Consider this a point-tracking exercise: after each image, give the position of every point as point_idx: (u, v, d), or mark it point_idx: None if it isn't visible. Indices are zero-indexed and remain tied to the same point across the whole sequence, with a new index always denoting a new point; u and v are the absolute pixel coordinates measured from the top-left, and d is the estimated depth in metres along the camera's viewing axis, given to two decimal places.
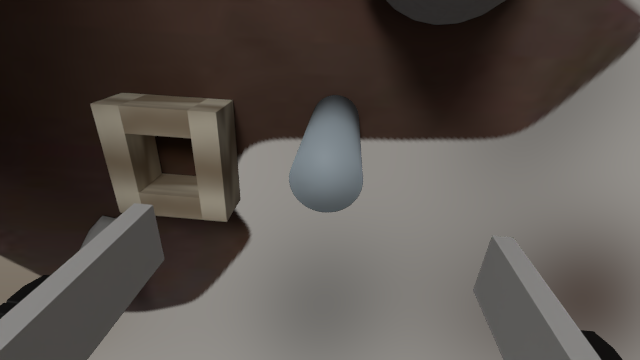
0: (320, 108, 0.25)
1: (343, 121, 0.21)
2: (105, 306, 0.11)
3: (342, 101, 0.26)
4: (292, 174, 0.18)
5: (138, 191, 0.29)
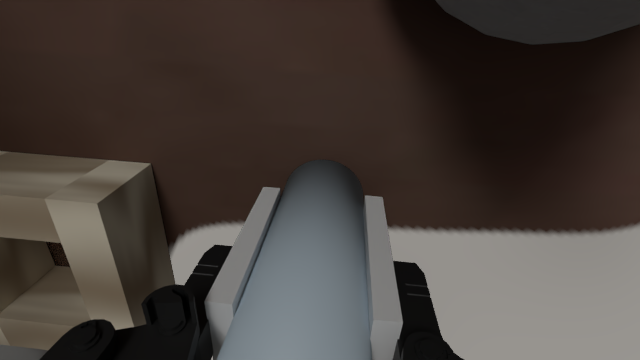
0: (291, 198, 0.13)
1: (331, 258, 0.10)
2: None
3: (334, 178, 0.14)
4: None
5: None
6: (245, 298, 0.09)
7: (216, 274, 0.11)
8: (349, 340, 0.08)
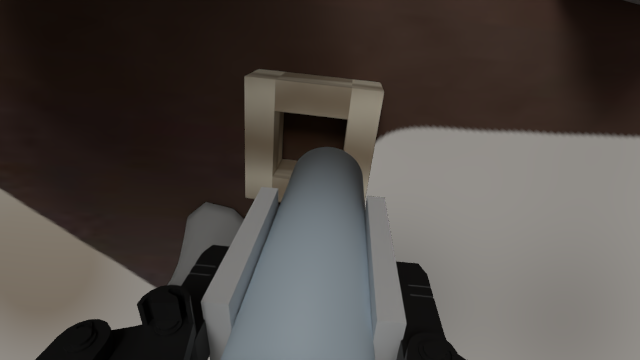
0: (300, 178, 0.15)
1: (337, 222, 0.11)
2: None
3: (337, 161, 0.16)
4: None
5: (272, 175, 0.27)
6: (265, 253, 0.11)
7: (213, 274, 0.11)
8: (352, 281, 0.09)
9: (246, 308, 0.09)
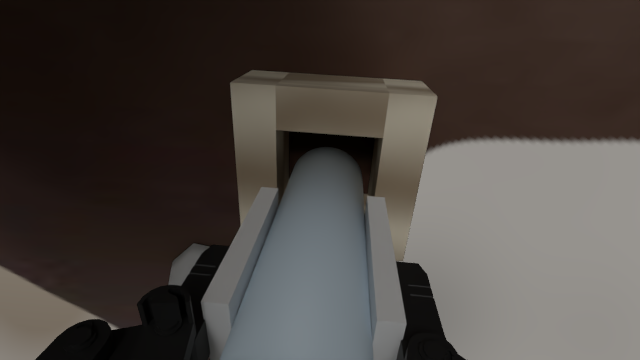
0: (300, 177, 0.15)
1: (336, 222, 0.12)
2: None
3: (337, 161, 0.16)
4: None
5: None
6: (264, 253, 0.11)
7: (213, 274, 0.11)
8: (351, 280, 0.10)
9: (246, 307, 0.09)
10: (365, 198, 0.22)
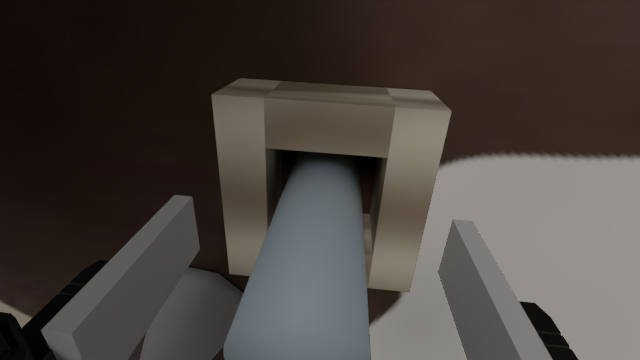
0: (301, 168, 0.16)
1: (335, 208, 0.12)
2: (156, 289, 0.11)
3: (336, 154, 0.17)
4: (229, 350, 0.09)
5: None
6: (269, 235, 0.12)
7: None
8: (349, 259, 0.10)
9: (253, 281, 0.10)
10: (367, 219, 0.20)
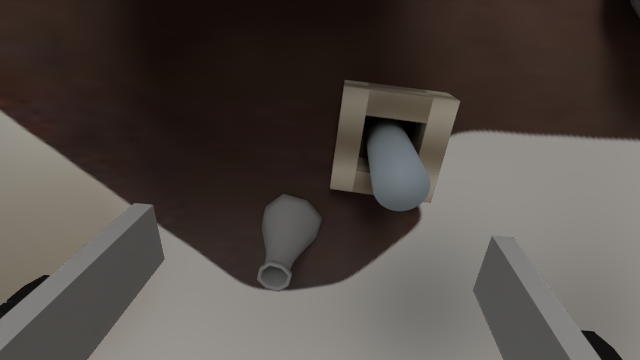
0: (380, 128, 0.30)
1: (406, 140, 0.27)
2: (106, 306, 0.11)
3: (395, 123, 0.32)
4: (376, 179, 0.23)
5: (356, 169, 0.32)
6: (378, 149, 0.26)
7: None
8: (417, 155, 0.25)
9: (381, 158, 0.24)
10: None
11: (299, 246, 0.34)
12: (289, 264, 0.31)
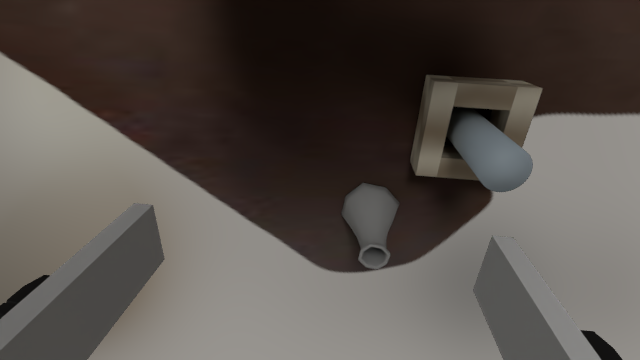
0: (464, 117, 0.33)
1: (497, 128, 0.30)
2: (105, 306, 0.11)
3: (476, 112, 0.34)
4: (483, 165, 0.26)
5: (441, 156, 0.35)
6: (474, 137, 0.29)
7: None
8: None
9: (484, 146, 0.27)
10: None
11: (387, 229, 0.37)
12: (385, 245, 0.35)
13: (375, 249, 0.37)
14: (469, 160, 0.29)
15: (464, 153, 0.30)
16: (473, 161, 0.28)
